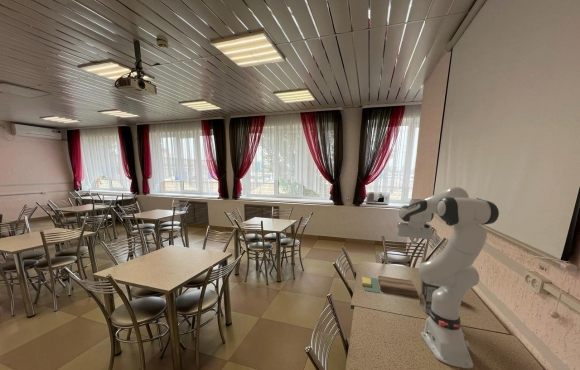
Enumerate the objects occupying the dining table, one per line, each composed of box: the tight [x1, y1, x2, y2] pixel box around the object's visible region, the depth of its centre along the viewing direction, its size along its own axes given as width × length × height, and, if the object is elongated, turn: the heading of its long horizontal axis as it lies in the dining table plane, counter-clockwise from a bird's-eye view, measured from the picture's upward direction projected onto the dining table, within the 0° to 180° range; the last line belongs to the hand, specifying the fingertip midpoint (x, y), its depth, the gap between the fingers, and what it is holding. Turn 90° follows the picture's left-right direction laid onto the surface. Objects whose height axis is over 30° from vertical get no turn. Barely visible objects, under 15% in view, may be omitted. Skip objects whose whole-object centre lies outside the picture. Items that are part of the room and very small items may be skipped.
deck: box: [377, 275, 418, 298], centre depth 152 cm, size 14×22×4 cm, turn 74°
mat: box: [362, 275, 381, 294], centre depth 157 cm, size 20×10×1 cm, turn 164°
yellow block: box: [361, 276, 372, 287], centre depth 158 cm, size 9×6×2 cm, turn 164°
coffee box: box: [419, 278, 439, 315], centre depth 130 cm, size 9×6×16 cm
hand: (413, 244), depth 144 cm, fingers closed
